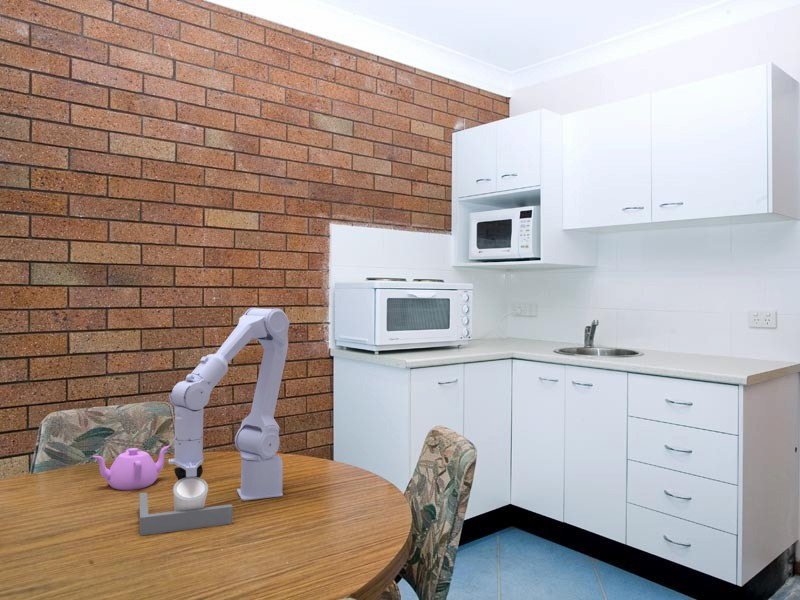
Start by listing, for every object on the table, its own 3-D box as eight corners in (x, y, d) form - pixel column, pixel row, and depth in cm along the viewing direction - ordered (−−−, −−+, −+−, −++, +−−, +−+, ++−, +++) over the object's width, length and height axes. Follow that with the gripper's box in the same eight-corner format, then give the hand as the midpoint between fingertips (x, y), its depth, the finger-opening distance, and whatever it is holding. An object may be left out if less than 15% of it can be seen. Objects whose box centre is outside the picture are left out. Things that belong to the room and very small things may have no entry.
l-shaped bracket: (221, 499, 140) (222, 484, 140) (232, 523, 126) (232, 506, 126) (139, 509, 133) (139, 493, 133) (140, 535, 119) (140, 517, 119)
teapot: (170, 478, 156) (170, 444, 156) (133, 495, 143) (133, 457, 143) (130, 474, 159) (131, 440, 159) (91, 490, 146) (91, 453, 146)
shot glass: (195, 529, 125) (197, 504, 122) (164, 519, 125) (166, 493, 123) (211, 507, 131) (214, 482, 128) (182, 496, 132) (184, 471, 129)
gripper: (167, 432, 135) (166, 493, 135) (170, 447, 122) (169, 515, 122) (200, 429, 138) (199, 489, 138) (207, 444, 125) (206, 510, 125)
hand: (188, 501), depth 130 cm, fingers closed
